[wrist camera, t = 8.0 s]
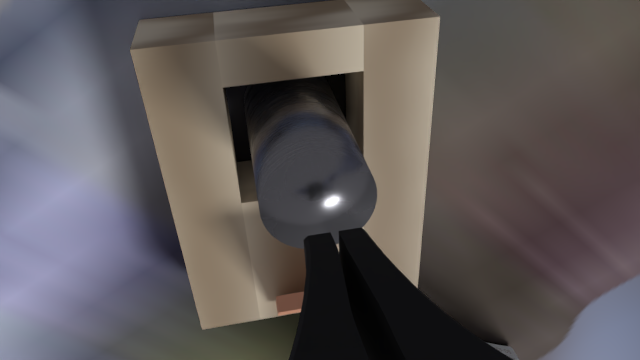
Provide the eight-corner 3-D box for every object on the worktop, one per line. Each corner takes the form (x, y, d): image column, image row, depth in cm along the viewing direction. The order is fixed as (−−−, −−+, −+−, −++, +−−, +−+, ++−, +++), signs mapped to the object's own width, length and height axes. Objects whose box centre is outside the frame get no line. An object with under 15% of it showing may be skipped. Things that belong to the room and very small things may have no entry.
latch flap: (360, 282, 20) (363, 298, 20) (346, 290, 24) (349, 303, 24) (276, 296, 20) (278, 312, 20) (275, 302, 24) (277, 315, 23)
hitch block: (410, -8, 20) (440, 16, 18) (398, 250, 27) (417, 292, 25) (138, 19, 19) (129, 50, 16) (202, 282, 26) (202, 329, 24)
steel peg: (330, 55, 21) (379, 145, 15) (332, 135, 23) (374, 241, 17) (239, 64, 20) (253, 159, 15) (248, 145, 22) (264, 256, 17)
